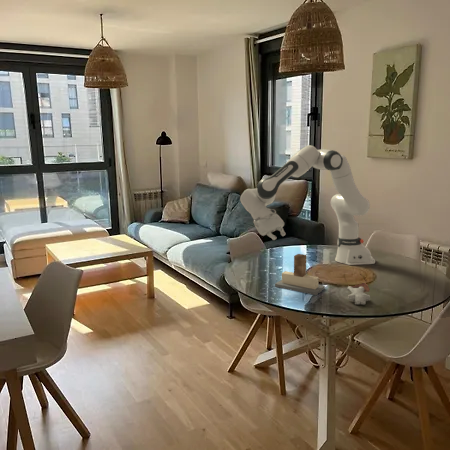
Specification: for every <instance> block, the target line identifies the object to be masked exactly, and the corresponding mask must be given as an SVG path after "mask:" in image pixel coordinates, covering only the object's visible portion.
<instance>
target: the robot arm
mask: <svg viewBox="0 0 450 450" xmlns="http://www.w3.org/2000/svg"><path fill="white" fill-rule="evenodd" d="M311 168H313V169H316V170H321V171H329V172H330V176H331V180H332V184H333V187H334V189H335V191H336V192H337V193H335V195H334V194H333V196H332V197H331V199H330V206H331V208H332V210H333V211H334V213H335V215H336V218H337V222H338V235H337V244H336V245H337V250H336V255H335V258H334V260H335V261H336V262H338V263H341V264H345V265H349V266H357V265H359V266H360V265H374V264H375V263H376V260H375V258H374V257H373V256H372V252H371V251H370V249H369V248H368V247H366V246H365V245H364V239H363V238H361V237H359V223H358V221H357V220H356V219H355V217H354V216H358V217H359V216H365V215H366V214H368V213H369V210H370V207H371V204H370V201H369V200H368V199H367V198H366V197H364V195H363V194H362V193H361V191H360V190H359V188H358V187H357V185H356V182H355V179H354V176H353V173H352V169H351V166H350V163H349V161H348V159H347V157H346V155H344V154H341V153H340V152H339V151H336V150H331V149H328V148H327V149H326V148H323V149H318V148H317V147H315V146H314V145H312V144H311V145H309V144H307V145H305V146H304V147H303V148H301V149H300V150H298V151H297V152H296V153H294V155H292V157H290V159H288V160H287V161H286V163H285V164H284V165H282V166H281V167H280V168H279V169H278V170H276V171H275V172H274V173H273V174H272V175H270V176H266V177H264V178H262V179H260V180H259V181H258V183H257V186H256V188H247V189H245V190H244V191H243V192H242V193H241V195H240V198H239V201H240V203H241V204H242V206H243V208H244V210H246V211H247V212H248V213H249V214H250V216H251V218H252V219H253V221H252V222H253V224H254V227H255V229H256V231H257V232H258V233H259V235H261V236H263V237H264V236H267V237H269V238H271V239H272V241H276V240H277V236H276V235H274V234H273V232H275V231H279V232H280V235H281V236H282V237H284V236H286V235H287V234H286V232H285V230H284V228H283V227H284V226H285V222H284V220H283V219H282V218H281V216H280V215H279V214H278V213H277V211H276V209H272V208H268V207H267V206H269V205H271V204H273V202H274V201H275V199H276V195H277V192H278V189H279V187H280V186H281V185H282V184H283V183H284V182H286V181H287V180H288V179H289V178H290V177H293V178H300V177H302V176H303V175H305V174H306V173H307V172H308V171H309V170H310V169H311Z"/></svg>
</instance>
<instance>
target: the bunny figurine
mask: <svg viewBox="0 0 450 450" xmlns="http://www.w3.org/2000/svg"><path fill="white" fill-rule="evenodd" d="M346 290H347V291H349V292H351V293H350V294H348V295H347V296H348V297H347V300H348V301H352V302H354V305H366V302H369V301H371V295H370V294H367V293H366V292H363V291H364V287H359V288H353V287H351V286H349V285H348V286H347V288H346Z"/></svg>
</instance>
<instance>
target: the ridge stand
mask: <svg viewBox="0 0 450 450" xmlns="http://www.w3.org/2000/svg"><path fill="white" fill-rule="evenodd" d="M274 287H276V288H281V289H285V290H290V291H294V292H297V293H298V292H299V293H303V294H308V295H314V296H317V295H319V294H320V293H321V292H323V291H324V290H325V288H326V286H325V285H322V284H319V276H313V275H307V274H306V275H305V276H303V277H299V276H294V271H293V272H292V271H288V270H287V271H286V270H285V271H283V272H281V280H279V281H277V282H275V283H274ZM323 289H324V290H323ZM322 290H323V291H322ZM318 293H319V294H318Z"/></svg>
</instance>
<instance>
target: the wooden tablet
mask: <svg viewBox="0 0 450 450" xmlns="http://www.w3.org/2000/svg"><path fill="white" fill-rule="evenodd" d="M366 283H367V282H366ZM366 283H362V284H359V285H355V286H351V287H353V288H359V287H364V291H363V293H369V292H370V287H369V285H368V283H367V284H366Z"/></svg>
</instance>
